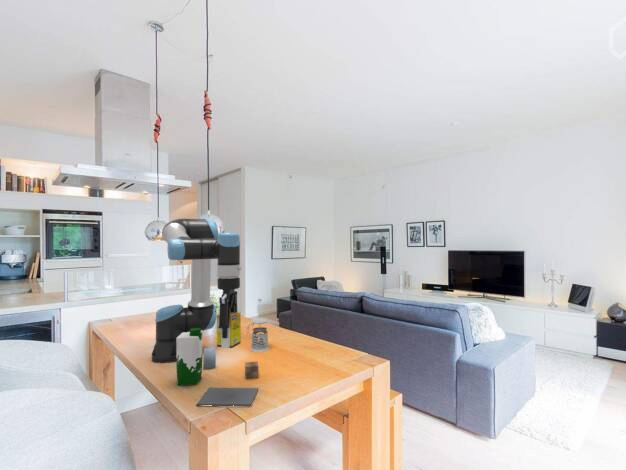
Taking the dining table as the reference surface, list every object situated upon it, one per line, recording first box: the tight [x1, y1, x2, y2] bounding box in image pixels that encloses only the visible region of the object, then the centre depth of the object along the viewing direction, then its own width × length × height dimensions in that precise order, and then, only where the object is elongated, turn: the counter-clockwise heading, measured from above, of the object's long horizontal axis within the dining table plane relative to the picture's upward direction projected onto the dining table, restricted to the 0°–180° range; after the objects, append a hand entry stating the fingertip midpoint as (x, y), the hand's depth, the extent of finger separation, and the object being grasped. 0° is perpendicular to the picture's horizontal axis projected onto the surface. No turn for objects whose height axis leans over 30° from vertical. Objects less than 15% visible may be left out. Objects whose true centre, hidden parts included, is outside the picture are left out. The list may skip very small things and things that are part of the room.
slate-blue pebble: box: [202, 346, 217, 371], centre depth 142 cm, size 5×5×8 cm
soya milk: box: [176, 328, 203, 386], centre depth 128 cm, size 9×9×20 cm
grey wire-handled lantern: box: [246, 298, 270, 353], centre depth 167 cm, size 10×12×25 cm
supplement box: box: [216, 311, 242, 349], centre depth 115 cm, size 6×6×11 cm
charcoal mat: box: [196, 387, 259, 407], centre depth 115 cm, size 18×12×1 cm, turn 88°
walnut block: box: [244, 361, 259, 381], centre depth 133 cm, size 5×5×5 cm
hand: (228, 343), depth 115 cm, fingers closed on supplement box, 7 cm apart
